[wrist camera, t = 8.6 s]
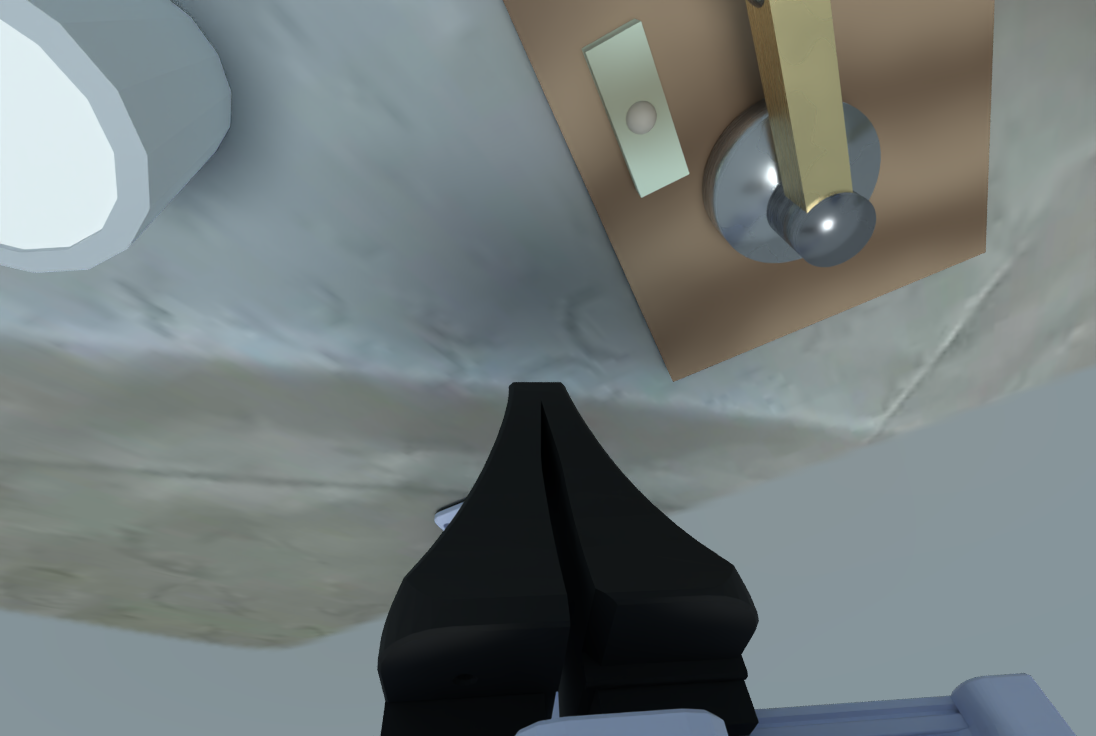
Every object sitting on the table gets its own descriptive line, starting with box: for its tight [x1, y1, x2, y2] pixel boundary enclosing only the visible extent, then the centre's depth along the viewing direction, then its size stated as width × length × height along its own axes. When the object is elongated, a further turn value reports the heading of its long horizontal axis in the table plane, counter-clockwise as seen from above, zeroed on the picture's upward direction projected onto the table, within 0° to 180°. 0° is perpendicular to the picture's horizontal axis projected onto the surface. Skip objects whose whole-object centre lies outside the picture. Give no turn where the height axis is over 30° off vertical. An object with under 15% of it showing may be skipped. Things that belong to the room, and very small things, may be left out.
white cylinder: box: [0, 0, 232, 273], centre depth 14 cm, size 7×7×7 cm
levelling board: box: [503, 0, 995, 382], centre depth 19 cm, size 18×14×2 cm
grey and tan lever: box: [702, 0, 881, 267], centre depth 17 cm, size 11×6×4 cm, turn 26°
